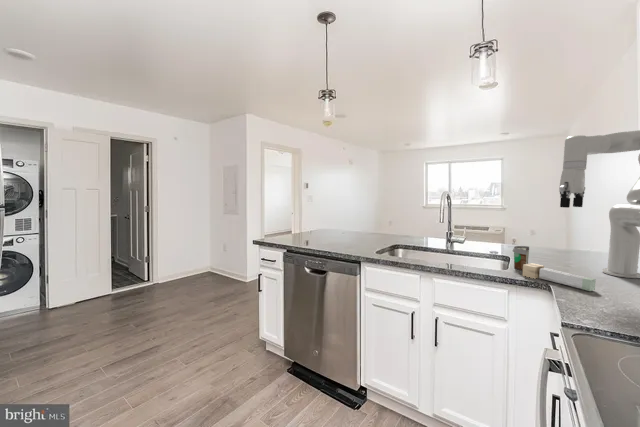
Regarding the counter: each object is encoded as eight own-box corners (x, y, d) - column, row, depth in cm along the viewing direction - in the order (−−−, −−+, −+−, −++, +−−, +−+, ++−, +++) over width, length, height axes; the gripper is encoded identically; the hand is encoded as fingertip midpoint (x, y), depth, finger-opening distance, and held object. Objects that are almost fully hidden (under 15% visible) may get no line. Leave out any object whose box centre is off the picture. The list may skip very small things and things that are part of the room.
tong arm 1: (539, 278, 128) (539, 268, 128) (541, 277, 129) (542, 268, 128) (589, 291, 112) (590, 280, 112) (592, 290, 113) (593, 279, 113)
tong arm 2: (541, 277, 129) (542, 268, 128) (544, 277, 130) (544, 267, 129) (592, 290, 113) (593, 279, 113) (594, 290, 114) (595, 279, 113)
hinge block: (531, 274, 136) (532, 263, 135) (543, 277, 131) (544, 265, 131) (522, 275, 133) (523, 264, 132) (534, 278, 128) (535, 267, 128)
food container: (513, 264, 153) (514, 244, 152) (528, 266, 149) (529, 246, 148) (509, 269, 143) (510, 248, 142) (525, 271, 139) (526, 250, 139)
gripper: (575, 167, 134) (572, 206, 136) (552, 166, 127) (549, 207, 128) (596, 166, 127) (592, 207, 129) (573, 164, 120) (570, 208, 122)
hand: (571, 207), depth 129 cm, fingers open, 9 cm apart
